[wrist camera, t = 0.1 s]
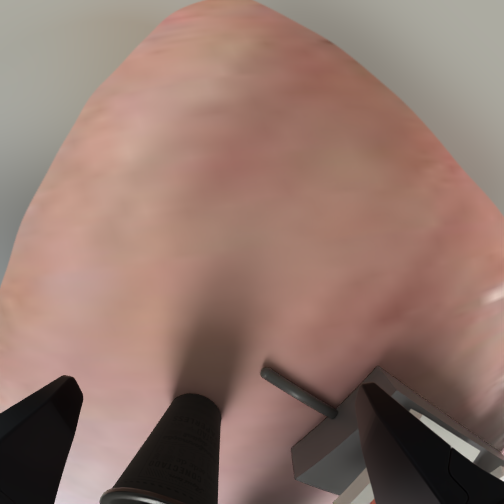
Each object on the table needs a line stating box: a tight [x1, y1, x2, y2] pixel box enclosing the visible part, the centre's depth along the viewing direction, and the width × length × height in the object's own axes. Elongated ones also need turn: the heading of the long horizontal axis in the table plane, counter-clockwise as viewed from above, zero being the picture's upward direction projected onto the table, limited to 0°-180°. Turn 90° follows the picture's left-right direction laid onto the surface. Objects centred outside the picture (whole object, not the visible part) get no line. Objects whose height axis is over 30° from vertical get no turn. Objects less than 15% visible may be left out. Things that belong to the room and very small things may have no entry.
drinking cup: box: [100, 394, 221, 504], centre depth 15 cm, size 8×8×20 cm
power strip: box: [260, 366, 504, 495], centre depth 22 cm, size 12×44×6 cm, turn 52°
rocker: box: [333, 409, 480, 504], centre depth 17 cm, size 10×13×2 cm
